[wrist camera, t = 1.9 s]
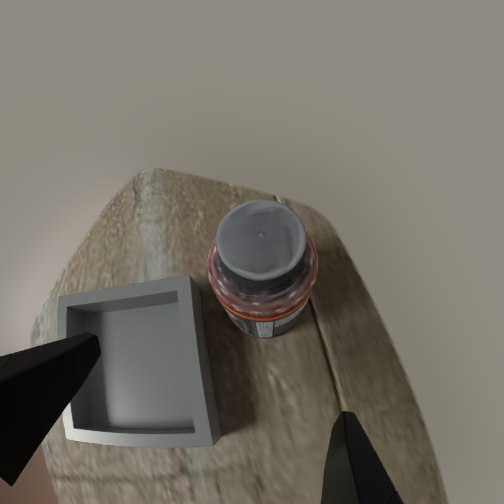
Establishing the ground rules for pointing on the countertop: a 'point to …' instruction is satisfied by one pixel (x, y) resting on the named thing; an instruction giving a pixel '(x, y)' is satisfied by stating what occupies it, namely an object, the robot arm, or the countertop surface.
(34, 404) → the robot arm
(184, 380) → the tray
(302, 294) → the supplement bottle
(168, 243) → the countertop surface
